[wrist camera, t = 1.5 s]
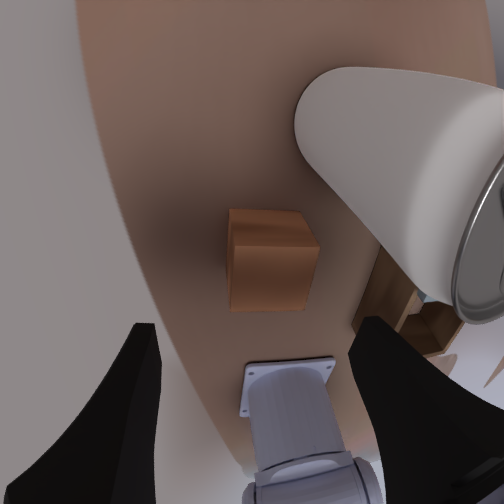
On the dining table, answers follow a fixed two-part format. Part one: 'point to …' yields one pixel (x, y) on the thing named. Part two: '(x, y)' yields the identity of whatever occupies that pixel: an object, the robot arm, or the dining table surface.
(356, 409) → the dining table surface
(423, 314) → the brown rectangular box
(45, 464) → the robot arm
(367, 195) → the can
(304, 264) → the block
